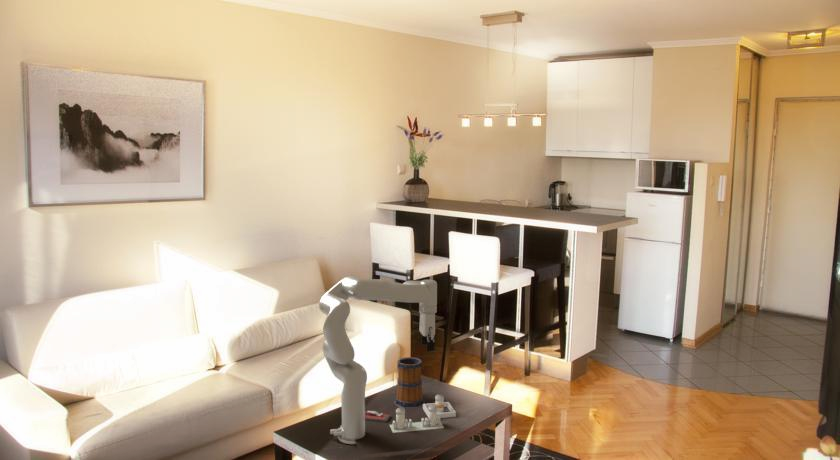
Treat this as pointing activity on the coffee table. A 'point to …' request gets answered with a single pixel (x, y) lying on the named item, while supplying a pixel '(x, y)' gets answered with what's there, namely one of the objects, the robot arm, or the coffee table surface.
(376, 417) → the red flat piece
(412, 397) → the mug
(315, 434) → the coffee table surface
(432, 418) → the far fuse
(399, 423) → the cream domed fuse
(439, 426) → the board
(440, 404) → the marked fuse
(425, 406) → the tray
